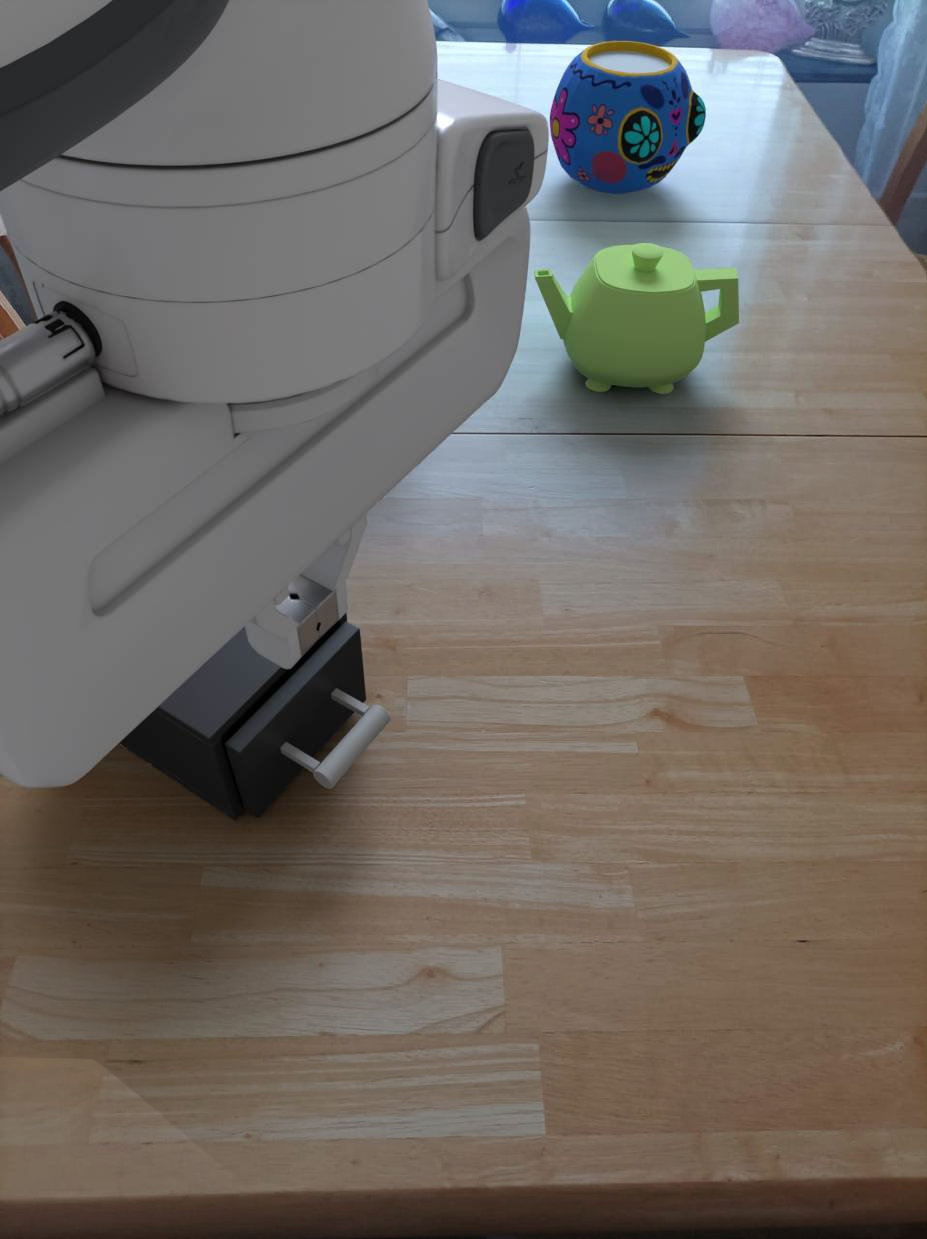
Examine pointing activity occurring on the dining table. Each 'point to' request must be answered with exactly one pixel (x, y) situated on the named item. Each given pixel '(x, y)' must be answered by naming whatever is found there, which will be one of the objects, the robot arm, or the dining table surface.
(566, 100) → the ceramic pot
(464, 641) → the dining table surface
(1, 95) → the robot arm
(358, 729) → the drawer
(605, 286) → the teapot
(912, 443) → the dining table surface
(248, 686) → the cabinet
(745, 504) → the dining table surface
